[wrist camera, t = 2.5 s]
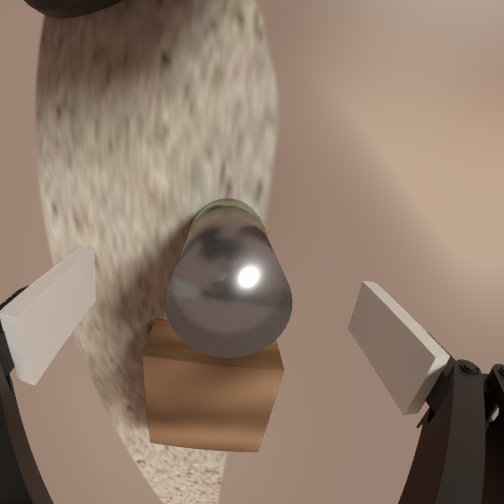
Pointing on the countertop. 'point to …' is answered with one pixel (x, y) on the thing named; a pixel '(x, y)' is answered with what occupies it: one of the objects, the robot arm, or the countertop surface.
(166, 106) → the countertop surface
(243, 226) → the column
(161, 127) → the countertop surface
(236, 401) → the step block
